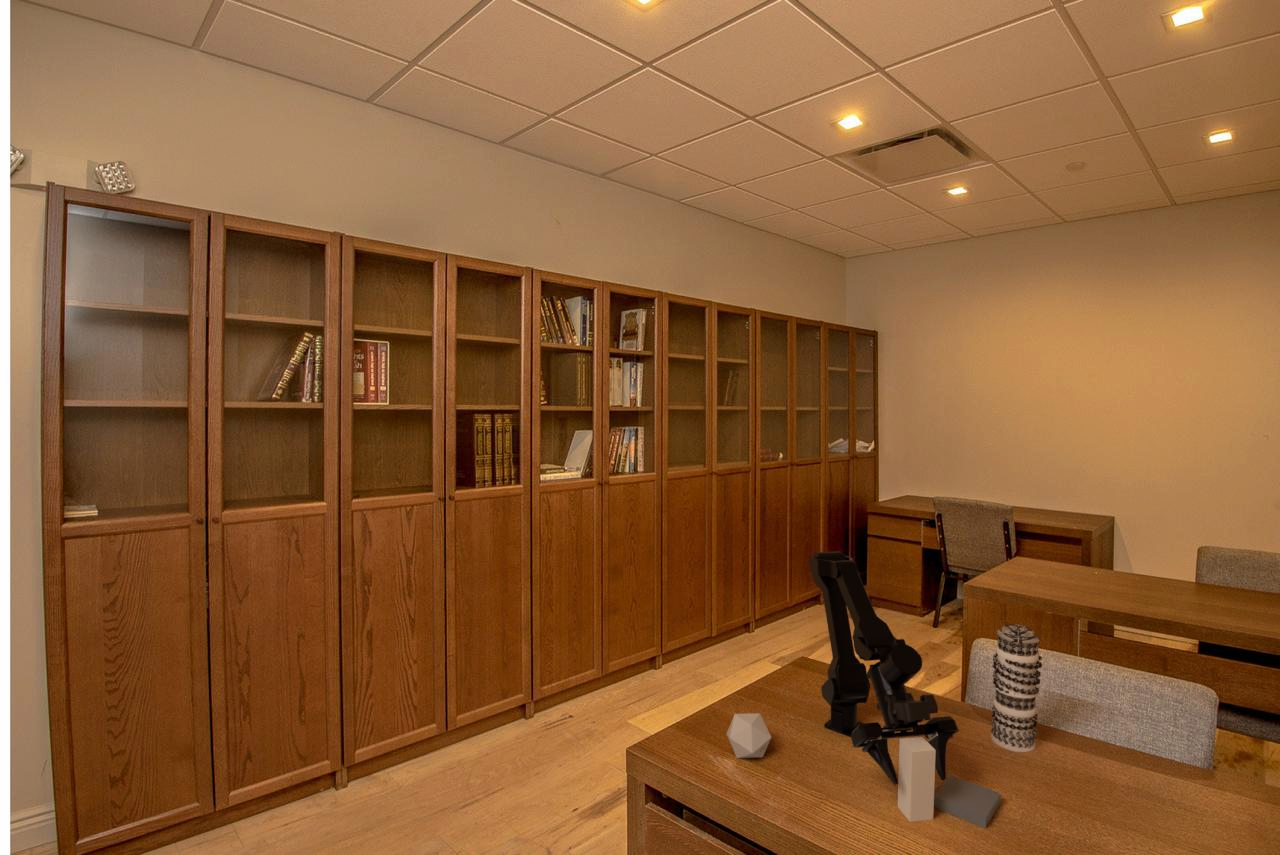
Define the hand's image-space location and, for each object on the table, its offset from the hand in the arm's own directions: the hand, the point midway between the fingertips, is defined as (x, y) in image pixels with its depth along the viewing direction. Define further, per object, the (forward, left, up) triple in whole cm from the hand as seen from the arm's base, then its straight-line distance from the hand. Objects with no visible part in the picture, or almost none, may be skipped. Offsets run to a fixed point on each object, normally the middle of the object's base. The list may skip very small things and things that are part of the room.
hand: (920, 782), depth 126 cm
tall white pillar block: (-1, -1, -7) cm, 7 cm away
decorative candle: (-38, +6, -7) cm, 39 cm away
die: (+3, -34, -7) cm, 35 cm away
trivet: (-9, +5, -7) cm, 13 cm away
